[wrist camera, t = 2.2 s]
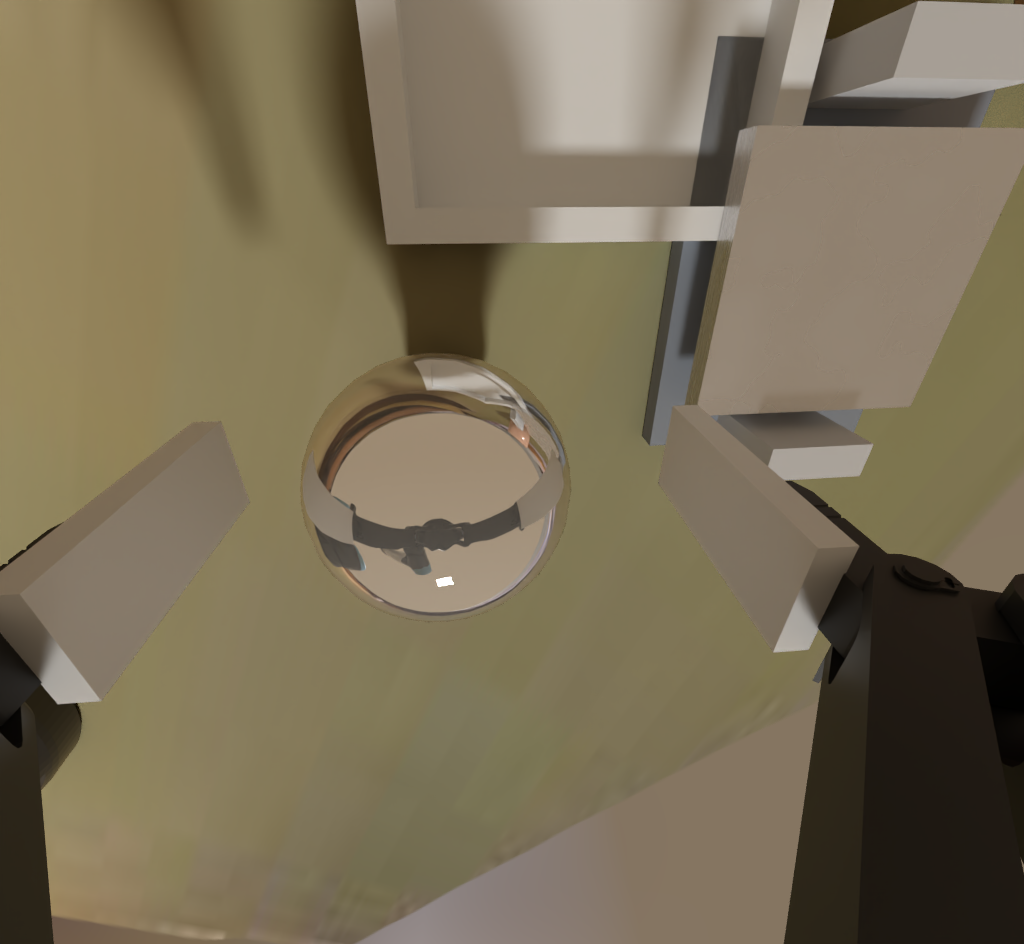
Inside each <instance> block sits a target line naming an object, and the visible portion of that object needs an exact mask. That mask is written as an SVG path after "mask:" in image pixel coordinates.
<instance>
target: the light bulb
mask: <svg viewBox="0 0 1024 944" xmlns="http://www.w3.org/2000/svg"><path fill="white" fill-rule="evenodd" d="M300 492H301V507H302V513H303V518H304V523H305V526H306V529H307V531H308V533H309V536H310V538H311V540H312V543H313V545H314V547H315V549H316V552H317V554H318V556H319V558H320V560H321V561H322V562H323V564H324V565H325V566H326V568H327V569H328V571H329V572H330V573H331V575H332V576H333V577H334V578H336V579H337V580H338V581H339V582H340V583H341V584H342V585H343V586H344V587H345V588H347V589H348V590H349V591H350V592H351V593H352V594H353V595H354V596H355V597H357V598H358V599H360V600H361V601H363V602H364V603H366V604H368V605H369V606H371V607H373V608H375V609H377V610H380V611H382V612H384V613H387V614H389V615H392V616H396V617H400V618H404V619H408V620H415V621H424V622H448V621H454V620H461V619H467V618H470V617H473V616H477V615H480V614H483V613H486V612H488V611H490V610H492V609H494V608H496V607H498V606H500V605H502V604H504V603H505V602H507V601H508V600H509V599H511V598H512V597H514V596H515V595H517V594H518V593H519V592H520V591H522V590H523V589H524V588H525V587H527V586H528V585H529V584H530V583H531V582H532V581H533V580H534V579H535V578H536V577H537V576H538V575H539V574H540V572H541V571H542V569H543V568H544V566H545V565H546V563H547V562H548V561H549V559H550V558H551V556H552V554H553V552H554V550H555V549H556V547H557V545H558V543H559V540H560V538H561V535H562V533H563V530H564V528H565V526H566V520H567V514H568V508H569V502H570V495H571V479H570V467H569V462H568V458H567V453H566V450H565V447H564V444H563V440H562V437H561V434H560V432H559V430H558V428H557V426H556V425H555V423H554V421H553V419H552V418H551V416H550V414H549V412H548V411H547V410H546V408H545V407H544V406H543V404H542V403H541V402H540V401H539V400H538V399H537V398H536V396H535V395H534V394H533V393H532V392H531V391H530V390H529V389H528V388H527V387H526V386H525V385H524V384H523V383H521V382H520V381H518V380H517V379H516V378H514V377H513V376H512V375H510V374H509V373H508V372H506V371H504V370H502V369H500V368H498V367H495V366H493V365H491V364H489V363H487V362H485V361H482V360H479V359H474V358H470V357H466V356H462V355H458V354H446V353H423V354H417V355H410V356H403V357H399V358H397V359H394V360H391V361H388V362H386V363H383V364H380V365H378V366H375V367H374V368H372V369H371V370H369V371H367V372H366V373H364V374H363V375H361V376H359V377H358V378H356V379H355V380H354V381H352V382H351V383H350V384H349V385H348V386H347V387H346V388H345V389H344V390H343V391H342V392H341V393H340V394H339V395H338V396H337V397H336V398H335V399H334V400H333V401H332V402H331V403H330V404H329V405H328V406H327V408H326V409H325V411H324V413H323V414H322V416H321V417H320V419H319V421H318V422H317V424H316V425H315V427H314V430H313V432H312V435H311V437H310V440H309V443H308V446H307V449H306V452H305V455H304V458H303V462H302V469H301V486H300Z"/></svg>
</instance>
